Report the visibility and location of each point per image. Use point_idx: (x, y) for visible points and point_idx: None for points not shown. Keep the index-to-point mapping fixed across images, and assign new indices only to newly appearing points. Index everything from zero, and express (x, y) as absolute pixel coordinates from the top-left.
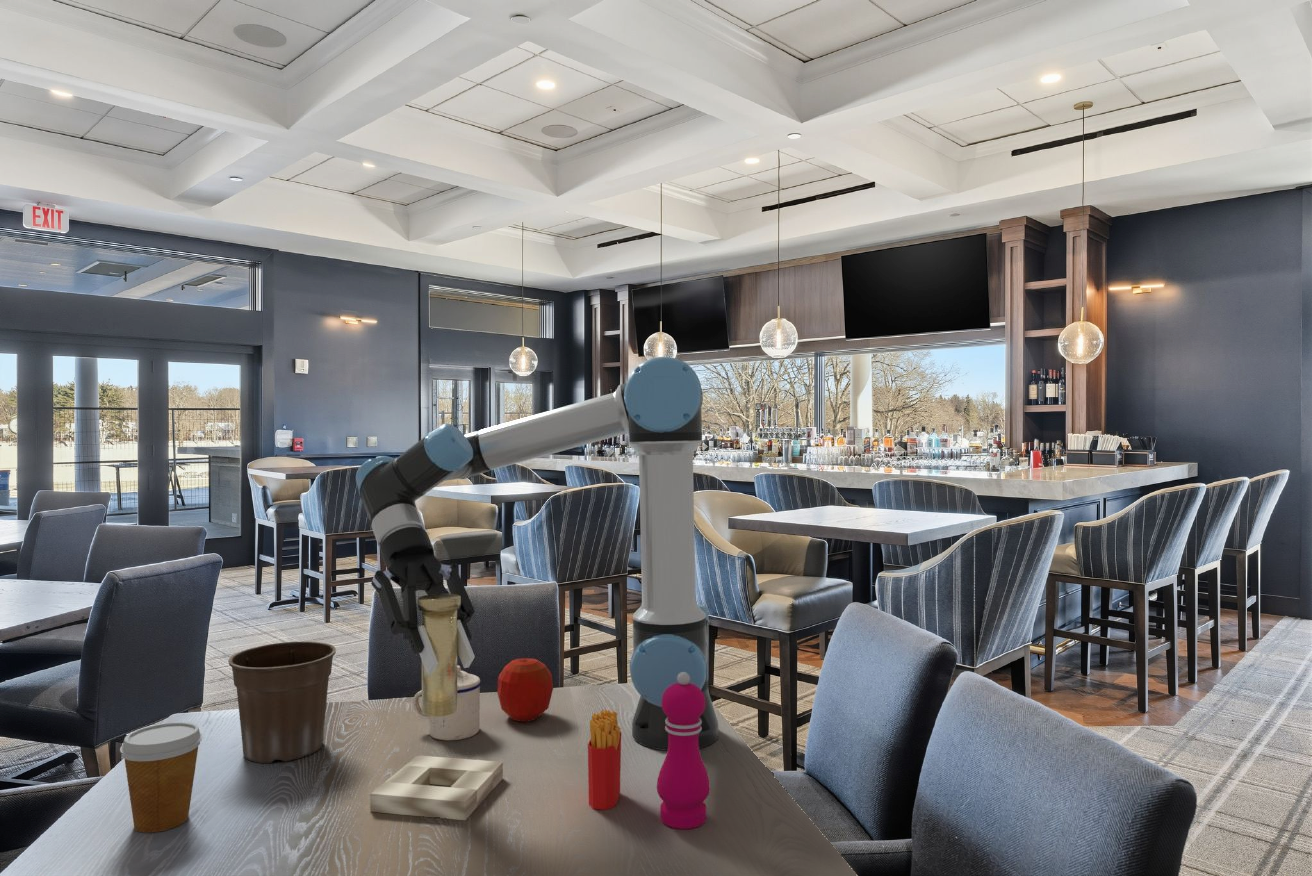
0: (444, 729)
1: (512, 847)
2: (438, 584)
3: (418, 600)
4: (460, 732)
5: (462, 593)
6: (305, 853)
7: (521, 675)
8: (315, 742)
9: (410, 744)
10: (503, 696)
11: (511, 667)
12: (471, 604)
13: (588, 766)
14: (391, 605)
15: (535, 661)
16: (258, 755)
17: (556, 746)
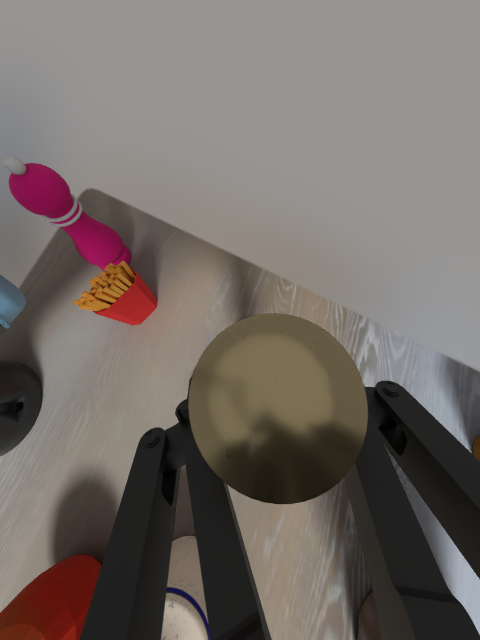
0: None
1: (230, 275)
2: (241, 632)
3: (364, 400)
4: (188, 541)
5: (131, 539)
6: (363, 332)
7: (45, 622)
8: (371, 610)
9: (248, 556)
10: None
11: None
12: (132, 469)
13: (144, 292)
14: (464, 449)
15: None
16: None
17: (110, 446)
